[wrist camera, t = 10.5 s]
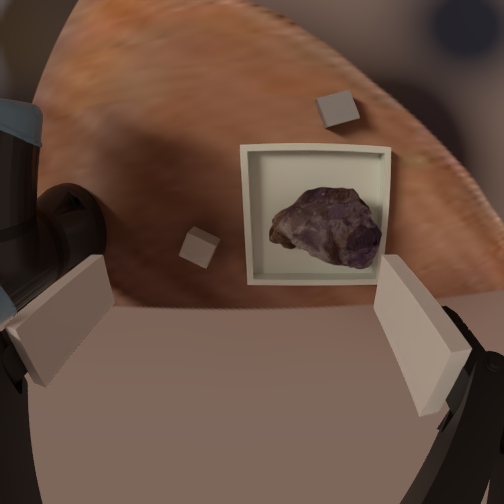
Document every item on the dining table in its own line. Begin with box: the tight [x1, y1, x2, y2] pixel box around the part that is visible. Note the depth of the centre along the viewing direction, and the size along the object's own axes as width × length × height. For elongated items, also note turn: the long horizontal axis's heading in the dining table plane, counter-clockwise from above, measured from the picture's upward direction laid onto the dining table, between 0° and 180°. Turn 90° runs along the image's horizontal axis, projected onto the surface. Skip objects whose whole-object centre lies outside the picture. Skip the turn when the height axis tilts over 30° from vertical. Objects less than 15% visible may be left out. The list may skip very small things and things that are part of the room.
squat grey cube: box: [315, 90, 360, 128], centre depth 30 cm, size 4×4×3 cm
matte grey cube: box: [179, 226, 221, 269], centre depth 38 cm, size 4×4×3 cm
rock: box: [269, 187, 382, 269], centre depth 32 cm, size 12×9×10 cm
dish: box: [240, 143, 391, 285], centre depth 35 cm, size 18×18×2 cm
